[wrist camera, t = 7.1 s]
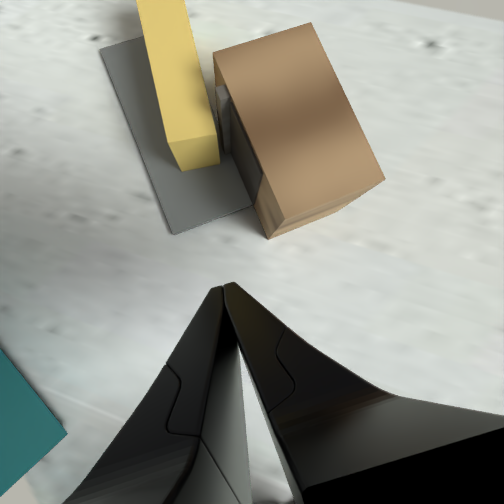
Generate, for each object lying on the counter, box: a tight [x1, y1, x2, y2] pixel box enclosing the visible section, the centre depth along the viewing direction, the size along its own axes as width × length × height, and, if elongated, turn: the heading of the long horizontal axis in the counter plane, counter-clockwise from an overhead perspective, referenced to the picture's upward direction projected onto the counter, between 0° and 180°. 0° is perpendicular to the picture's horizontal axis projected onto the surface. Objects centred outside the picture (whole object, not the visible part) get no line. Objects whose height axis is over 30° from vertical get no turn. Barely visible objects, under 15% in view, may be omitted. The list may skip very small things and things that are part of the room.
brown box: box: [213, 22, 385, 240], centre depth 17 cm, size 10×7×6 cm, turn 23°
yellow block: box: [136, 0, 220, 172], centre depth 18 cm, size 4×3×12 cm
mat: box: [100, 36, 252, 235], centre depth 19 cm, size 16×6×1 cm, turn 23°
